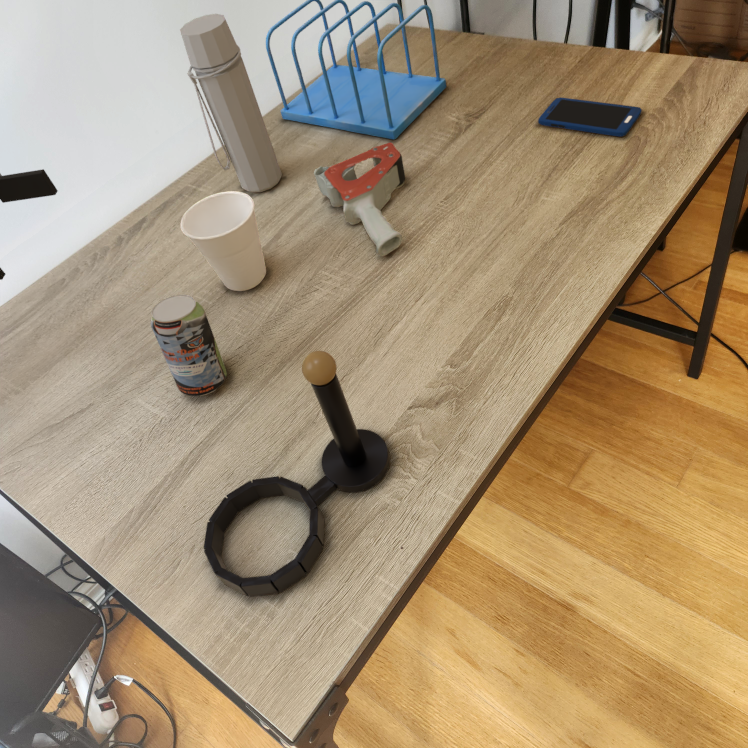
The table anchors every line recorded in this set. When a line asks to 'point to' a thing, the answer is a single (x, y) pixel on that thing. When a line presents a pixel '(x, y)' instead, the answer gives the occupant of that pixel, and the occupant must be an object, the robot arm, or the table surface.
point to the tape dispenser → (366, 192)
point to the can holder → (342, 471)
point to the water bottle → (230, 102)
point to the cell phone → (590, 116)
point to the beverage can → (188, 345)
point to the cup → (227, 238)
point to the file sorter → (360, 82)
